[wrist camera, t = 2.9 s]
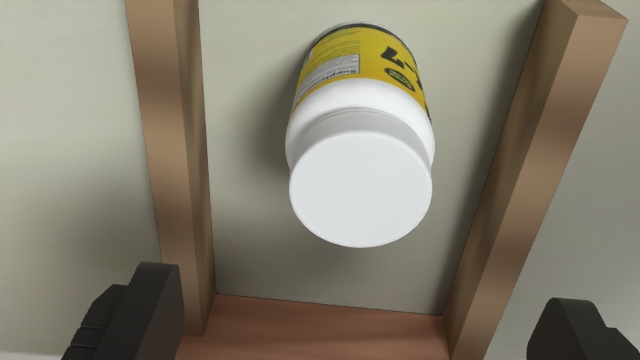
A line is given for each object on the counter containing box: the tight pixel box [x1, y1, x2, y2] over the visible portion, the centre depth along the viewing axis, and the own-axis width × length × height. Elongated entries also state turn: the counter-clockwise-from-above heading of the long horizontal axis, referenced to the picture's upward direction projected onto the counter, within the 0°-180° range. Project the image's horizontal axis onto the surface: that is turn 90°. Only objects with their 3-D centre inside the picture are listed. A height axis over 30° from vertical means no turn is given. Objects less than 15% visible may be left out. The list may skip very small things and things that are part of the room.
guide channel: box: [125, 0, 629, 360], centre depth 22 cm, size 20×16×5 cm
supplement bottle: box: [285, 21, 435, 248], centre depth 17 cm, size 5×5×8 cm
